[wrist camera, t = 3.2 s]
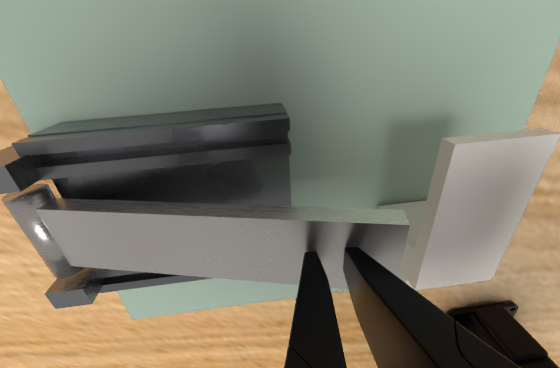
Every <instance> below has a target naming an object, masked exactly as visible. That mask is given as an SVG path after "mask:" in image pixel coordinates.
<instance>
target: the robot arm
mask: <svg viewBox="0 0 560 368" xmlns="http://www.w3.org/2000/svg"><path fill="white" fill-rule="evenodd" d="M343 272H344V275H345V279H346V282H347V286H348V289H349V292H350V296H351V299H352V302H353V306H354V309H355V312H356V315H357V318H358V321H359V323H360V325H361V328H362V330H363V333H364V335H365V337H366V340H367V342H368V345H369V347H370V349H371V352H372V354H373V357H374V359H375V361H376V364H377V366H378V368H559V367H558V366H557V365H556V364H555V363H554V362H553V361H552V360H551V359H550V358H549V357H548V353H547V351H546V350H545V349H544V348H543V347H542V346H541V345H540V344H539V343H538V342H537V341H536V340H535V339H534V338H533V337H532V336H531V335H530V334H529V333H528V332H527V331H526V330H525V329H524V328H523V327H522V326H521V325H520V324H519V323H518V322H517V321H516V320H515V319H514V318H513V316H514V314H515V313H516V311H517V309H518V306H517V305H516V304H515V303H514V302H507V303H500V304H494V305H487V306H480V307H473V308H466V309H460V310H454V311H451V312H450V313H449V314H448V315H447V314H446V313H444V312H443V311H442V310H440V309H439V308H438V307H437V306H435V305H434V304H433V303H431V302H430V301H429V300H427V299H426V298H425V297H423V296H422V295H421V294H419V293H418V292H417V291H415V290H414V289H413V288H411V287H410V286H409V285H408V284H406V283H405V282H404V281H402V280H401V279H400V278H398V277H397V276H396V275H394V274H393V273H392V272H390V271H389V270H388V269H386V268H385V267H384V266H382V265H381V264H380V263H379V262H377V261H376V260H375V259H373V258H372V257H371V256H369V255H368V254H367V253H365V252H364V251H363V250H361V249H360V248H359V247H346V248H345V249H344V261H343ZM284 368H347V367H346V362H345V357H344V352H343V348H342V343H341V338H340V333H339V328H338V324H337V319H336V314H335V309H334V304H333V299H332V295H331V290H330V285H329V281H328V278H327V275H326V273H325V270H324V268H323V265H322V263H321V260H320V258H319V255H318V253H317V252H316V251H308V252H305V253H304V258H303V264H302V269H301V275H300V281H299V287H298V293H297V298H296V304H295V310H294V316H293V321H292V327H291V333H290V339H289V347H288V349H287V355H286V361H285V366H284Z"/></svg>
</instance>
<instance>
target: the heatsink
mask: <svg viewBox="0 0 560 368" xmlns="http://www.w3.org/2000/svg"><path fill="white" fill-rule="evenodd" d="M288 131H290V118H289V116H288V114H287V111H286V110H285V108H284V106H283V105H282V103H272V104H261V105H249V106H238V107H226V108H215V109H203V110H192V111H181V112H169V113H158V114H146V115H135V116H123V117H112V118H101V119H89V120H78V121H66V122H60V123H57V124H55V125H52V126H50V127H47V128H45V129H42V130H40V131H37V132H35V133H32V134H30V135H28V137H26V138H24V139H21V140H19V141H17V142H14V143H12V146H10V147H8V148H5V149H3V150H1V151H0V194H4V193H14V192H21V191H23V190H24V189H26V188H28V187H29V186H31V185H32V184H34V183H35V182H37V181H38V180H47V179H52V180H53V182H54V184H55V186H56V188H57V189H58V191H59V193H60V195H61V197H62V198H63V199H93V200H124V201H154V202H184V203H215V204H245V205H275V206H292V204H291V184H290V164H289V155H291V142H290V140H289V138H288ZM204 279H212V278H208V277H196V276H184V275H173V274H161V273H149V272H137V271H125V270H113V269H101V268H89V267H85V268H84V269H83V270H81V271H80V272H78V273H76V274H75V275H72V276H70V277H66V278H57V280H56V281H55V282H54V283H53V284H52V286H51V287H50V288H49V289H48V290H47V292H46V293H45V295H46V297H47V298H48V299H49V301H50V302H51V303H52V305H53V306H54V307H55V309H57V308H65V307H72V306H80V305H87V304H92V303H93V301H94V300H95V298H96V296H97V295H98V293H99V292H100V293H104V292H112V291H120V290H127V289H135V288H143V287H150V286H158V285H166V284H174V283H181V282H189V281H197V280H204Z"/></svg>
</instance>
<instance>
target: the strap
mask: <svg viewBox="0 0 560 368" xmlns="http://www.w3.org/2000/svg"><path fill="white" fill-rule="evenodd" d="M2 201H3V203H4V204H5V206H6V207H7V209H8V210H9V211H10V213H11V214H12V216H13V217H14V219H15V220H16V222H17V223H18V224H19V226H20V227H21V229H22V230H23V232H24V233H25V235H26V236H27V238H28V239H29V240H30V242H31V243H32V245H33V246H34V248H35V249H36V251H37V252H38V254H39V255H40V256H41V258H42V259H43V261H44V262H45V264H46V265H47V267H48V268H49V269H50V271H51V272H52V274H53V275H54V277H56V278H66V277H70V276H72V275H75V274H76V273H78V272H80V271H81V270H83V269H84V268H85V267H89V268H101V269H113V270H125V271H137V272H149V273H161V274H173V275H184V276H196V277H208V278H220V279H232V280H244V281H256V282H268V283H280V284H292V285H299V281H300V275H301V269H302V264H303V258H304V253H305V252H308V251H316V252H317V253H318V255H319V258H320V260H321V263H322V265H323V268H324V270H325V273H326V275H327V278H328V281H329V285H330V288H339V289H348V286H347V282H346V279H345V275H344V272H343V261H344V249H345V248H346V247H359V248H360V249H361V250H363V251H364V252H365V253H367V254H368V255H369V256H371V257H372V258H373V259H375V260H376V261H377V262H379V263H380V264H381V265H382V266H384V267H385V268H386V269H388V270H389V271H390V272H392V273H393V274H394V275H396V276H397V277H399V272H400V268H401V263H402V259H403V254H404V250H405V245H406V241H407V236H408V232H409V228H410V224H409V222H408V219H407V217H406V215H405V213H404V211H403V210H397V209H366V208H336V207H306V206H275V205H245V204H215V203H184V202H154V201H124V200H93V199H63V198H55V196H54V195H53V193H52V191H51V189H50V187H49V186H48V185H47V184H35V185H31V186H29V187H28V188H26V189H24V190H23V191H21V192H14V193H8V194H7V195H5V196H4V197H3V198H2Z"/></svg>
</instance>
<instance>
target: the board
mask: <svg viewBox="0 0 560 368" xmlns="http://www.w3.org/2000/svg"><path fill="white" fill-rule="evenodd" d="M559 41H560V0H0V78H1V80H2V82H3V84H4V86H5V87H6V89H7V91H8V93H9V95H10V97H11V98H12V100H13V102H14V104H15V106H16V108H17V109H18V111H19V113H20V115H21V117H22V119H23V120H24V122H25V124H26V126H27V128H28V130H29V131H30V133H31V134H32V133H35V132H37V131H40V130H42V129H45V128H47V127H50V126H52V125H55V124H57V123H60V122H66V121H78V120H89V119H101V118H112V117H123V116H135V115H146V114H158V113H169V112H181V111H192V110H203V109H215V108H226V107H238V106H249V105H261V104H272V103H282V105H283V106H284V108H285V110H286V111H287V114H288V116H289V118H290V131H288V138H289V140H290V142H291V155H289V164H290V184H291V204H292V206H306V207H336V208H366V209H378V207H379V206H383V205H391V204H400V203H409V202H417V201H426V200H427V196H428V192H429V188H430V184H431V180H432V176H433V172H434V168H435V164H436V160H437V156H438V152H439V148H440V144H441V140H442V138H448V137H458V136H468V135H478V134H488V133H498V132H508V131H518V130H524V128H525V126H526V123H527V121H528V118H529V116H530V113H531V111H532V108H533V106H534V103H535V101H536V98H537V96H538V93H539V91H540V88H541V86H542V83H543V81H544V78H545V76H546V73H547V71H548V68H549V66H550V63H551V61H552V58H553V56H554V53H555V51H556V48H557V46H558V43H559ZM298 287H299V285H292V284H280V283H268V282H256V281H244V280H232V279H220V278H212V279H204V280H197V281H189V282H181V283H174V284H166V285H158V286H150V287H143V288H135V289H127V290H120V291H117V293H118V295H119V297H120V298H121V300H122V302H123V304H124V306H125V308H126V309H127V311H128V313H129V315H130V317H131V319H132V320H136V319H144V318H151V317H158V316H165V315H173V314H180V313H187V312H194V311H202V310H209V309H216V308H223V307H231V306H238V305H245V304H252V303H260V302H267V301H274V300H282V299H289V298H296V297H297V293H298ZM330 290H331V293H332V292H340V291H347V290H349V289H339V288H330Z"/></svg>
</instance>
